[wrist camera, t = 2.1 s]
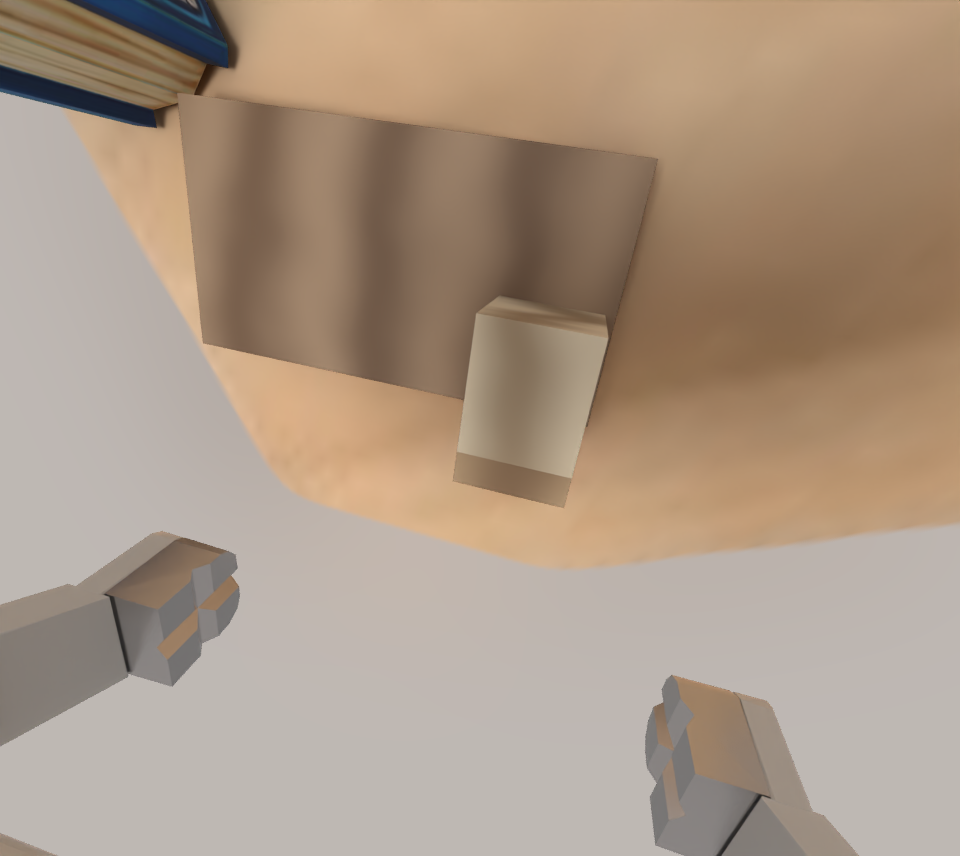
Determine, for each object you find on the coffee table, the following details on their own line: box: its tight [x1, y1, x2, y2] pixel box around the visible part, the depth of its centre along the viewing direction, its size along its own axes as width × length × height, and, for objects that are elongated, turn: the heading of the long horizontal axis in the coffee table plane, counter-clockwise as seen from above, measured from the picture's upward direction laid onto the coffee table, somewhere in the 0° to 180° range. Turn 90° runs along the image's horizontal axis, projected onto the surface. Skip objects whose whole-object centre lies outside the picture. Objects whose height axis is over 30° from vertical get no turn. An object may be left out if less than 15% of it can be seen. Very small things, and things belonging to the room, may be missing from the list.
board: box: [177, 93, 658, 427], centre depth 24 cm, size 22×12×2 cm, turn 82°
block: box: [453, 296, 608, 508], centre depth 22 cm, size 5×8×7 cm, turn 172°
